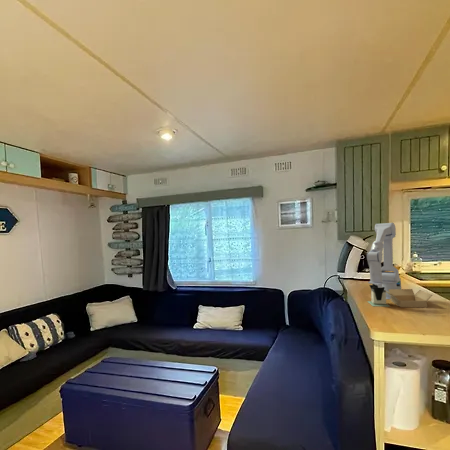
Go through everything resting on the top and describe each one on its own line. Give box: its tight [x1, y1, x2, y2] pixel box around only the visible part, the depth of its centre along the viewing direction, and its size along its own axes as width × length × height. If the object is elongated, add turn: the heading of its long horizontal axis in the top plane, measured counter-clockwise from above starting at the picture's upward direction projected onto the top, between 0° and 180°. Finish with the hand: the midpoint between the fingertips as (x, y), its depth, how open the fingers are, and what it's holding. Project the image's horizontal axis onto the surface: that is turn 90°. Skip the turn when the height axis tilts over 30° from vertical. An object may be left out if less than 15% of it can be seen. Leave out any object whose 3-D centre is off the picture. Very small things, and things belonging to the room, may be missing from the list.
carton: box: [386, 288, 433, 308], centre depth 158 cm, size 18×18×6 cm
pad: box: [367, 300, 391, 307], centre depth 159 cm, size 12×8×1 cm, turn 167°
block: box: [370, 288, 387, 304], centre depth 160 cm, size 4×6×7 cm
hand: (377, 299), depth 160 cm, fingers closed on block, 4 cm apart
